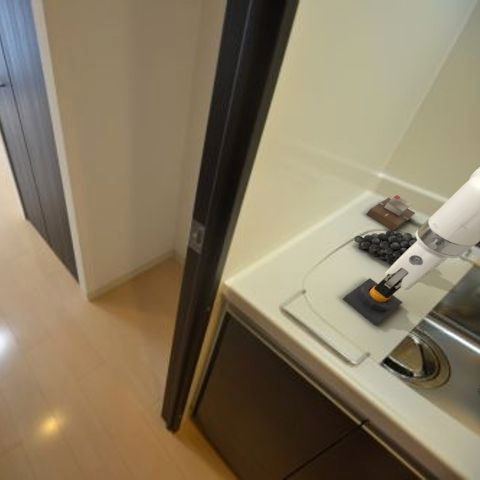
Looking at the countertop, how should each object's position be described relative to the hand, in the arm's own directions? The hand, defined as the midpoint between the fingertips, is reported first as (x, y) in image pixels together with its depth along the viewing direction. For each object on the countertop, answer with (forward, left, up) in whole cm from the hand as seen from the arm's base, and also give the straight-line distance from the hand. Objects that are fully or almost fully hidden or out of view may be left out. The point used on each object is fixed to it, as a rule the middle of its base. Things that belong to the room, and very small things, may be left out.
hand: (382, 291), depth 73 cm
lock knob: (-26, -25, -2) cm, 36 cm away
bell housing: (0, 0, -5) cm, 5 cm away
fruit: (-14, -13, -5) cm, 20 cm away
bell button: (0, 0, -2) cm, 2 cm away
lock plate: (-26, -25, -5) cm, 37 cm away
